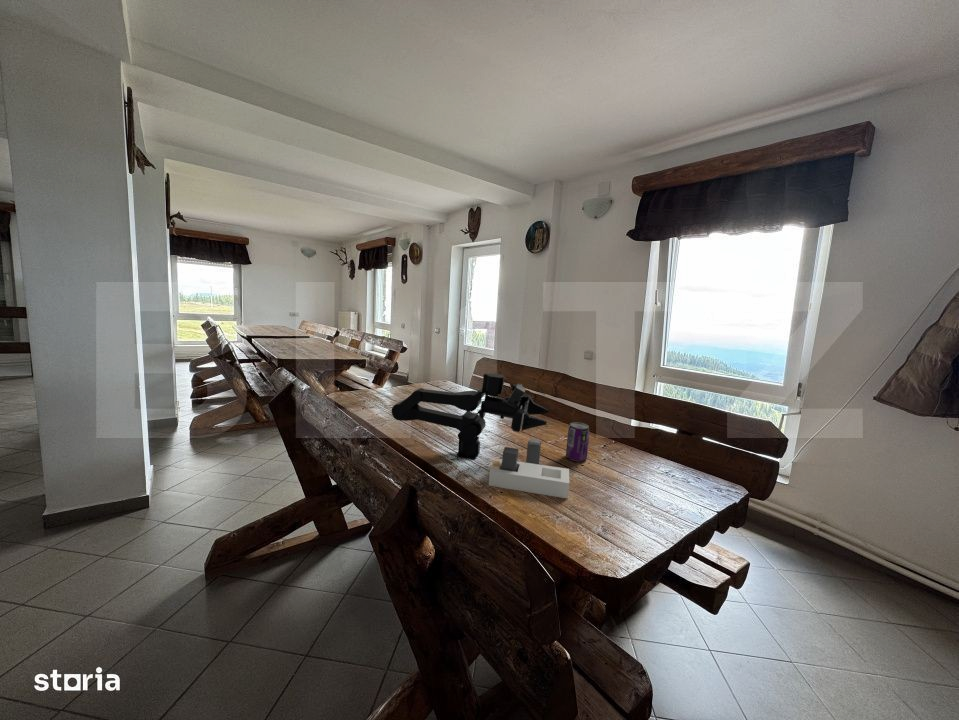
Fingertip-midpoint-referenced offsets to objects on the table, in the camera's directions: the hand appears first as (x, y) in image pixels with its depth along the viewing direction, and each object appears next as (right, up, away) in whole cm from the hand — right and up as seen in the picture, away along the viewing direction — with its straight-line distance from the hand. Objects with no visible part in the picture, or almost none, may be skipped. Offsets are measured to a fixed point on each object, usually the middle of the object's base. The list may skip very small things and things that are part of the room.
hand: (547, 417), depth 116 cm
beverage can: (+12, -16, +10) cm, 22 cm away
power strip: (-7, -18, -10) cm, 22 cm away
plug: (-5, -16, +2) cm, 17 cm away
